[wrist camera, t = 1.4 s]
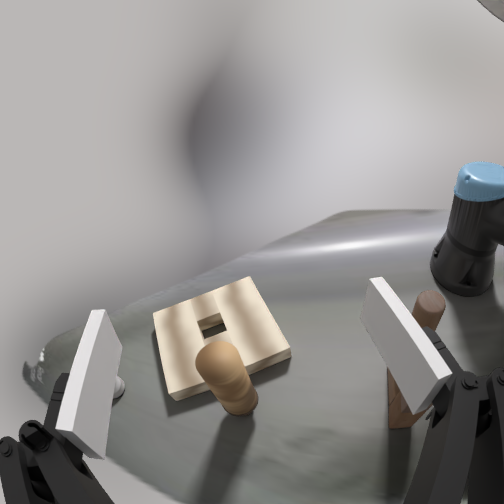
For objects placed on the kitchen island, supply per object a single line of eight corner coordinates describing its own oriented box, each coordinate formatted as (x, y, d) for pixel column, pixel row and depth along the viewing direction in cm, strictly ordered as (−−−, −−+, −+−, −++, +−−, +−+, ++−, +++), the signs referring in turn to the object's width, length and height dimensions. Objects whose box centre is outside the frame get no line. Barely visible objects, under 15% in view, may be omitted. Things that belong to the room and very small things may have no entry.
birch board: (252, 286, 59) (249, 276, 57) (291, 356, 45) (290, 347, 44) (159, 322, 56) (152, 313, 54) (176, 401, 42) (168, 393, 40)
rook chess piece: (123, 374, 47) (100, 351, 42) (128, 394, 44) (104, 372, 39) (104, 383, 46) (79, 361, 41) (108, 402, 43) (82, 382, 38)
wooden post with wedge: (388, 429, 32) (429, 375, 21) (386, 365, 40) (413, 288, 29) (412, 427, 32) (462, 371, 20) (408, 364, 39) (441, 287, 28)
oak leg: (254, 387, 42) (231, 333, 33) (266, 414, 38) (247, 370, 29) (222, 399, 42) (189, 350, 32) (233, 427, 38) (200, 387, 28)
